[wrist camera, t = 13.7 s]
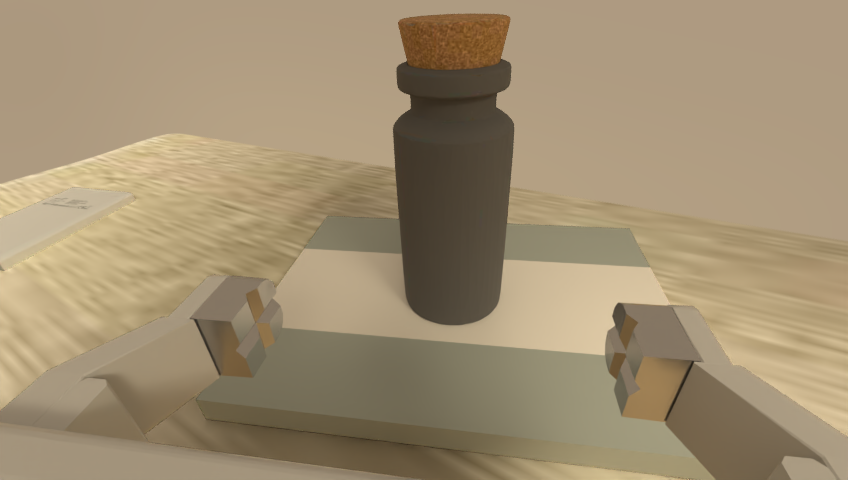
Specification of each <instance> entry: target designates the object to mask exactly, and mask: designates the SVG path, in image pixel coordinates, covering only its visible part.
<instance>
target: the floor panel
mask: <svg viewBox="0 0 848 480" xmlns="http://www.w3.org/2000/svg"><path fill="white" fill-rule="evenodd" d="M273 299H274V300H275V301H276V302H277V303H278V304H279V305H280V306H281V309H282V312H283V324H282V328H281V332H280V335H279V336H278V338H277V340H276V342H275V343H273V344H272V345H270V346H268V347H267V348H265V351H266V358H265V360H264V361H263V363H262V364H261V366H260V368H259V369H258V371H257V372H256V374H255V376H254V377H253V378H248V377H235V376H222V375H220V378H219V379H217V380H216V381H215V382H213V383H212V384H211V385H209V386H208V387H207V388H205V389H204V390H203V391H202V392H201V393H200V394H199V396H198V397H197V399H196V401H197V403H198V405H199V407H200V409H201V411H202V412H203V414H204V416H205V418H206V419H210V420H218V421H226V422H234V423H243V424H251V425H259V426H267V427H275V428H283V429H291V430H299V431H307V432H315V433H323V434H331V435H339V436H347V437H356V438H364V439H372V440H380V441H388V442H396V443H404V444H412V445H420V446H428V447H436V448H444V449H452V450H460V451H469V452H477V453H485V454H493V455H501V456H509V457H517V458H525V459H533V460H541V461H549V462H557V463H565V464H573V465H582V466H590V467H598V468H606V469H614V470H622V471H630V472H638V473H646V474H654V475H662V476H670V477H678V478H686V479H695V480H716V479H715V478H714V477H713V476H712V475H711V474H710V473H709V472H708V470H707V469H706V468H705V467H704V466H703V465H702V464H701V463H700V462H699V461H698V460H697V459H696V457H695V456H694V455H693V454H692V453H691V452H690V451H689V450H688V449H687V448H686V447H685V445H684V444H683V443H682V442H681V441H680V440H679V439H678V438H677V437H676V436H675V435H674V434H673V432H672V431H671V430H670V429H669V428H668V427H667V426H666V425H665V423H666V422H659V421H651V420H644V419H636V418H628V417H622V416H621V413H620V409H619V406H618V403H617V399H616V396H615V393H614V387H615V383H616V379H615V378H614V377H613V376H612V375H611V374H610V373H609V372H608V368H607V365H606V359H605V341H606V337H607V332H608V330H610V329H611V328H612V327H614V326H615V323H614V320H613V317H612V315H613V311H614V308H615V306H616V305H617V303H618V302H619V303H635V304H652V305H665V306H667V305H670V303H669V301H668V299H667V297H666V295H665V293H664V292H663V290H662V288H661V286H660V284H659V282H658V280H657V279H656V277H655V275H654V273H653V271H652V269H651V268H650V266H649V264H648V262H647V260H646V258H645V256H644V255H643V253H642V251H641V249H640V247H639V245H638V243H637V242H636V240H635V238H634V236H633V234H632V232H631V231H630V229H626V228H602V227H578V226H554V225H531V224H507V228H506V240H505V251H504V261H503V272H502V282H501V292H500V298H499V302H498V304H497V306H496V308H495V309H494V310H493V311H492V312H491V313H490V314H489V315H488V316H486V317H484V318H483V319H481V320H479V321H476V322H474V323H469V324H464V325H443V324H437V323H434V322H431V321H428V320H426V319H424V318H422V317H420V316H419V315H418V314H416V313H415V312H414V311H413V310H412V308H411V307H410V306H409V304H408V301H407V299H406V293H405V283H404V272H403V261H402V248H401V235H400V222H399V219H389V218H365V217H341V216H327V217H326V219H325V220H324V222H323V223H322V224H321V226H320V227H319V229H318V230H317V231H316V233H315V234H314V236H313V237H312V238H311V240H310V241H309V243H308V244H307V245H306V247H305V248H304V250H303V251H302V252H301V254H300V255H299V256H298V258H297V259H296V261H295V262H294V263H293V265H292V266H291V268H290V269H289V270H288V272H287V273H286V275H285V276H284V277H283V279H282V280H281V282H280V283H279V284H278V286H277V287H276V294H275V296H274V297H273Z"/></svg>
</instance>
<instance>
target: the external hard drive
mask: <svg viewBox="0 0 848 480" xmlns="http://www.w3.org/2000/svg"><path fill="white" fill-rule="evenodd" d="M134 201H135V198H134V196H133V194H131V193H129V192H120V191H109V190H99V189H89V188H79V187H72V188H70V189H67V190H65V191H63V192H61V193H58V194H56V195H54V196H51V197H49V198H47V199H44V200H42V201H40V202H37V203H35V204H33V205H30V206H28V207H26V208H23V209H21V210H19V211H16V212H14V213H12V214H9V215H7V216H5V217H2V218H0V270H2V271H6V270H8V269H10V268H11V267H13V266H15V265H17V264H19V263H21V262H22V261H24V260H26V259H28V258H30V257H32V256H34V255H35V254H37V253H39V252H41V251H43V250H45V249H46V248H48V247H50V246H52V245H54V244H56V243H58V242H59V241H61V240H63V239H65V238H67V237H69V236H71V235H72V234H74V233H76V232H78V231H80V230H82V229H84V228H85V227H87V226H89V225H91V224H93V223H95V222H97V221H98V220H100V219H102V218H104V217H106V216H108V215H110V214H111V213H113V212H115V211H117V210H119V209H121V208H122V207H124V206H126V205H128V204H130V203H132V202H134Z"/></svg>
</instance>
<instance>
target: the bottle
mask: <svg viewBox="0 0 848 480" xmlns="http://www.w3.org/2000/svg"><path fill="white" fill-rule="evenodd" d="M509 23H510V17H508V16H507V15H499V14H446V15H428V16H418V17H410V18H404V19H401V20H400V21H399V22H398V25H399V29H400V34H401V38H402V42H403V46H404V50H405V54H406V58H407V61H406V62H404V63H402V64H400V65H399V66H398V67H397V85H398V88H399V90H400V91H402V92H404V93H406V94H409V95H410V98H411V109H410V110H408V111H407V112H405V113H404V114H403V115H401V116H400V117H399V118H398V120H397V121H396V122H395V124H394V127H393V135H394V136H393V137H394V154H395V170H396V183H397V196H398V209H399V222H400V235H401V248H402V261H403V272H404V283H405V293H406V299H407V301H408V304H409V306H410V307H411V308H412V310H413V311H414V312H415V313H416V314H418V315H419V316H420V317H422V318H424V319H426V320H428V321H431V322H434V323H437V324H443V325H464V324H469V323H474V322H476V321H479V320H481V319H483V318H484V317H486V316H488V315H489V314H490V313H491V312H492V311H493V310H494V309H495V308H496V306H497V304H498V302H499V298H500V292H501V282H502V272H503V261H504V251H505V240H506V228H507V216H508V204H509V192H510V180H511V167H512V156H513V140H514V123H513V121H512V120H511V118H510V117H509V116H508V115H507V114H505V113H504V112H503V111H501V110H500V109H498V108H496V97H497V93H498V92H501V91H503V90H505V89H506V88H507V87H508V86H509V84H510V80H511V64H510V63H509V62H507V61H505V60H503V59H501V56H502V51H503V48H504V44H505V40H506V36H507V32H508V28H509Z"/></svg>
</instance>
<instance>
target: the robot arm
mask: <svg viewBox="0 0 848 480" xmlns="http://www.w3.org/2000/svg"><path fill="white" fill-rule="evenodd" d="M275 294H276V289H275V286H274V283H273V281H271V280H269V279H263V278H252V277H241V276H226V275H215V274H214V275H211V276H208V277H207V278H206V279H205V280H204V281H203V282H202V283H201V284H200V285H199V286H198V287H197V288H196V289H195V290H194V291H193V292H192V293H191V294H190V295H189V296H188V297H187V298H186V299H185V300H184V301H183V302H182V303H181V304H180V305H179V306H178V307H177V308H176V309H175V310H174V311H173V312H172V313H171V314H170V315H169V316H168V317H160V318H158V319H156V320H154V321H152V322H150V323H148V324H145V325H143V326H141V327H139V328H137V329H135V330H133V331H130V332H128V333H126V334H124V335H122V336H120V337H118V338H116V339H113V340H111V341H109V342H107V343H105V344H103V345H101V346H99V347H96V348H94V349H92V350H90V351H88V352H86V353H84V354H82V355H79V356H77V357H75V358H73V359H71V360H69V361H67V362H64V363H62V364H60V365H58V366H56V367H54V368H52V369H50V370H47V371H46V372H45V373H43V374H42V375H41V376H40V377H39V378H38V379H36V380H35V381H34V382H33V383H32V384H31V385H30V386H28V387H27V388H26V389H25V390H24V391H23V392H21V393H20V394H19V395H18V396H17V397H16V398H14V399H13V400H12V401H11V402H10V403H9V404H8V405H6V406H5V407H4V408H3V409H2V410H1V411H0V480H423V479H416V478H408V477H401V476H393V475H386V474H379V473H371V472H364V471H357V470H349V469H342V468H334V467H327V466H320V465H312V464H305V463H298V462H290V461H283V460H275V459H268V458H261V457H253V456H246V455H238V454H231V453H224V452H216V451H209V450H202V449H194V448H187V447H179V446H172V445H165V444H157V443H150V442H149V441H148V440H147V438H146V437H145V435H144V434H146V433H147V432H148V431H150V430H151V429H152V428H154V427H155V426H156V425H158V424H159V423H160V422H162V421H163V420H164V419H166V418H167V417H168V416H170V415H171V414H172V413H174V412H175V411H176V410H178V409H179V408H180V407H181V406H183V405H184V404H185V403H187V402H188V401H189V400H191V399H192V398H193V397H195V396H196V395H197V394H199V393H200V392H201V391H203V390H204V389H205V388H207V387H208V386H209V385H211V384H212V383H213V382H215V381H216V380H217V379H219V378H220V375H222V376H235V377H248V378H253V377H254V376H255V374H256V372H257V371H258V369H259V368H260V366H261V364H262V363H263V361H264V360H265V358H266V351H265V348H267V347H268V346H270V345H272V344H273V343H275V342H276V340H277V338H278V336H279V335H280V332H281V328H282V324H283V312H282V309H281V306H280V305H279V304H278V303H277V302H276V301H275V300H274V299H273V297H274V296H275ZM612 317H613V320H614V323H615V326H614V327H612V328H611V329H610V330H608V332H607V337H606V341H605V359H606V365H607V368H608V372H609V373H610V374H611V375H612V376H613V377H614V378H615V379H616V383H615V387H614V393H615V396H616V399H617V403H618V406H619V409H620V413H621V416H622V417H628V418H636V419H644V420H651V421H659V422H666V423H665V425H666V426H667V427H668V428H669V429H670V430H671V431H672V432H673V434H674V435H675V436H676V437H677V438H678V439H679V440H680V441H681V442H682V443H683V444H684V445H685V447H686V448H687V449H688V450H689V451H690V452H691V453H692V454H693V455H694V456H695V457H696V459H697V460H698V461H699V462H700V463H701V464H702V465H703V466H704V467H705V468H706V469H707V470H708V472H709V473H710V474H711V475H712V476H713V477H714V478H715V479H716V480H848V437H847V436H845V435H844V434H842V433H841V432H839V431H838V430H836V429H835V428H833V427H832V426H830V425H829V424H827V423H826V422H824V421H823V420H822V419H820V418H819V417H817V416H816V415H814V414H813V413H811V412H810V411H808V410H807V409H805V408H804V407H802V406H801V405H799V404H798V403H796V402H795V401H793V400H792V399H790V398H789V397H787V396H786V395H784V394H783V393H781V392H780V391H778V390H777V389H775V388H774V387H772V386H771V385H769V384H768V383H766V382H765V381H763V380H762V379H760V378H759V377H757V376H756V375H754V374H753V373H751V372H750V371H748V370H747V369H745V368H744V367H742V366H738V365H733V364H732V363H731V361H730V360H729V358H728V356H727V355H726V353H725V352H724V350H723V349H722V347H721V345H720V344H719V342H718V341H717V339H716V337H715V336H714V334H713V333H712V331H711V330H710V328H709V326H708V325H707V323H706V322H705V320H704V318H703V317H702V315H701V314H700V312H699V310H698V309H696V308H695V307H693V306H680V305H667V306H665V305H652V304H635V303H619V302H618V303H617V305H616V306H615V308H614V311H613V315H612Z"/></svg>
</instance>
